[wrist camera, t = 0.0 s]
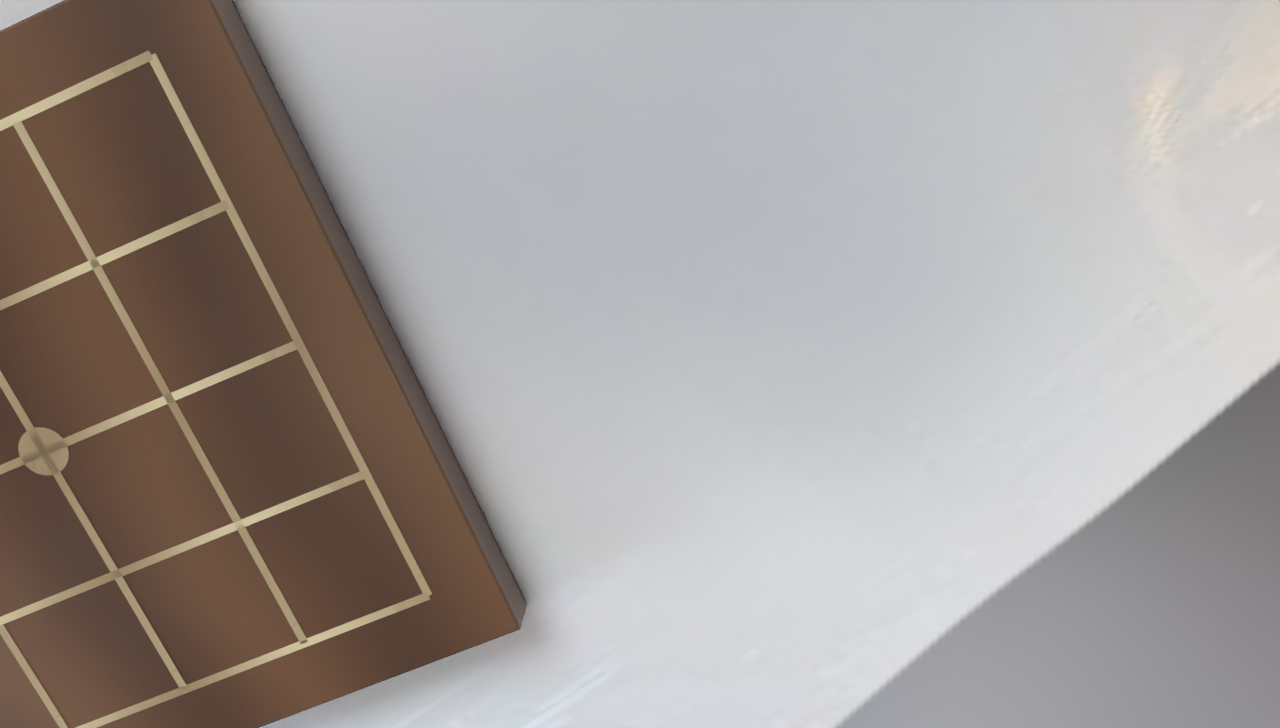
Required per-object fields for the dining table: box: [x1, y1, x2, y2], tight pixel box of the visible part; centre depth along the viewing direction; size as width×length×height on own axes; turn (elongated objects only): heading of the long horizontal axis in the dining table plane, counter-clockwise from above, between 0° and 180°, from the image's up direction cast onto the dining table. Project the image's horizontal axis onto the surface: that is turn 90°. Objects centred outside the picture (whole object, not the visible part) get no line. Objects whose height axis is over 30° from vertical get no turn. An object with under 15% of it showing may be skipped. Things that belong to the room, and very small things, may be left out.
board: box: [0, 0, 526, 728], centre depth 27 cm, size 20×20×2 cm
